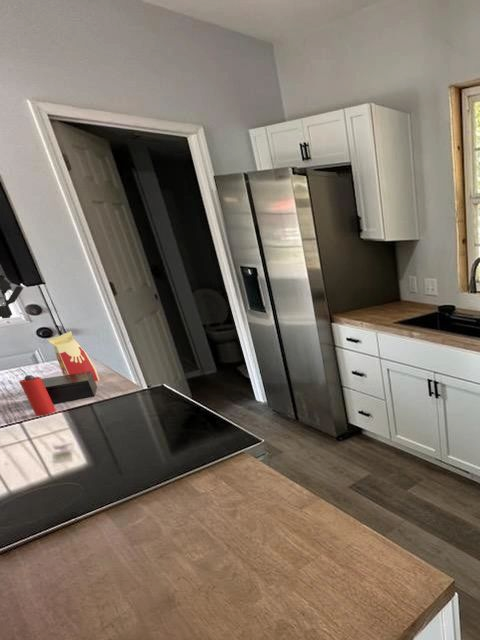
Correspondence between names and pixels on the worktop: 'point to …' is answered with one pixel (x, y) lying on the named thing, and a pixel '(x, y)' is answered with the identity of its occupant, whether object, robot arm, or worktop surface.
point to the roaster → (73, 392)
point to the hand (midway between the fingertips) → (6, 317)
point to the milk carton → (72, 356)
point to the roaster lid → (66, 380)
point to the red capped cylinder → (37, 395)
